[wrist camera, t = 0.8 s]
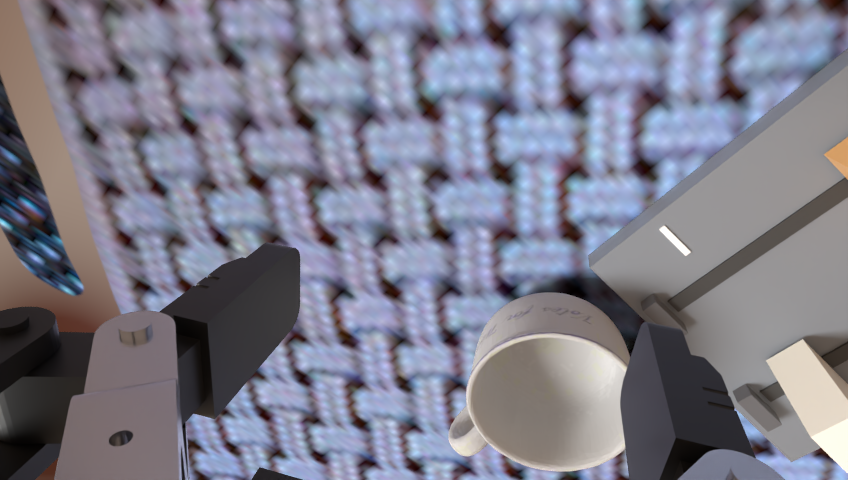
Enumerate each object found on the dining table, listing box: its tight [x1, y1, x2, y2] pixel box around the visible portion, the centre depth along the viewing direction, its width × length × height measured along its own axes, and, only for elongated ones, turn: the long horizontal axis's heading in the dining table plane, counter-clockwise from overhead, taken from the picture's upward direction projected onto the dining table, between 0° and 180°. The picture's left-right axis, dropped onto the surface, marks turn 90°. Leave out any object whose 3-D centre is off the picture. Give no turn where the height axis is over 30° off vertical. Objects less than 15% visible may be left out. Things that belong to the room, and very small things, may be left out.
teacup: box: [449, 292, 630, 472], centre depth 38 cm, size 14×11×8 cm
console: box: [588, 49, 848, 462], centre depth 33 cm, size 20×20×3 cm
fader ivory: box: [766, 339, 848, 473], centre depth 31 cm, size 2×5×7 cm, turn 48°
